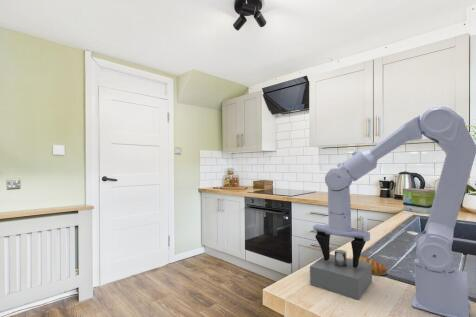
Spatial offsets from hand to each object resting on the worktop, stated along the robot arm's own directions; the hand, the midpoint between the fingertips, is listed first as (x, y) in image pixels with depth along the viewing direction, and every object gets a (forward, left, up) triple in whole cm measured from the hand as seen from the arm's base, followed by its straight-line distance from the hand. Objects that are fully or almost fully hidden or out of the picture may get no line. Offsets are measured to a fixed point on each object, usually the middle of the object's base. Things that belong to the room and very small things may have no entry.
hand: (340, 262), depth 68 cm
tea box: (-5, -132, -6) cm, 132 cm away
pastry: (-3, -13, -6) cm, 15 cm away
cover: (0, 0, -5) cm, 5 cm away
